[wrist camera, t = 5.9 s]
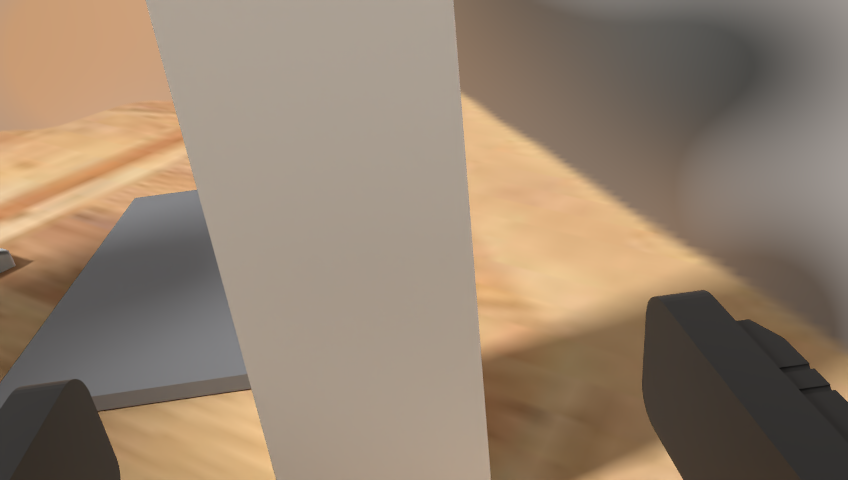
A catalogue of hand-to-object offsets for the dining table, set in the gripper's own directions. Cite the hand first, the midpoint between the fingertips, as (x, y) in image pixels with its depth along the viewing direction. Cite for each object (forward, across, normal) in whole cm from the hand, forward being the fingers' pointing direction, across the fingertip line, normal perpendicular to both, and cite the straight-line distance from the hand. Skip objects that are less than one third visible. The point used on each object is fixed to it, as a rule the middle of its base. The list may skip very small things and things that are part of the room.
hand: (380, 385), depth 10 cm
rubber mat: (+20, -6, -8) cm, 22 cm away
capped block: (+7, 0, -8) cm, 10 cm away
